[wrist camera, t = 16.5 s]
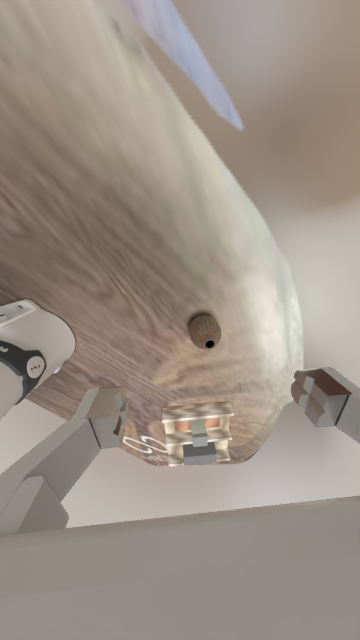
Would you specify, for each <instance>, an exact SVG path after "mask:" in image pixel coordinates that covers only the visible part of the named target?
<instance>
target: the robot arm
mask: <svg viewBox="0 0 360 640" xmlns="http://www.w3.org/2000/svg"><path fill="white" fill-rule="evenodd" d="M21 306H22V307H23V308H22V307H21ZM74 350H75V338H74V335H73V333H72V331H71V329H70V328H69V327H68V325H67V324H66V323H65V322H64V321H63V320H61V319H60V318H59V317H57V316H55V315H54V314H52V313H49V312H47V311H45V310H43V309H41V308H40V307H39V306H38V305H36V304H35V303H34V302H33V301H31V300H29V299H23V300H20V301H16V302H13V303H9V304H6V305H2V306H0V420H1V419H2V418H3V417H4V416H5V415H6V414H7V412H8V411H9V410H10V409H11V408H12V407H13V406H14V405H17V404H18V403H20V402H21V401H22V400H23V399H24V398H25V397H27V396H28V395H29V394H30V393H31V391H32V390H33V389H35V388H37V387H38V386H39V385H40V384H41V383H42V382H43V381H44V380H46V379H47V378H48V377H49V376H50V375H51V374H52V373H57V372H58V371H59V370H60V369H61V367H62V365H63V363H64V362H65V361H66V360H67V359H68V358H70V357H71V355H72V354H73V352H74ZM294 378H295V380H296V381H295V382H294V383H293V384H292V386H291V393H292V397H293V399H294V400H295V402H296V403H297V404H298V405H299V406H301V407H302V408H304V409H305V414H306V416H307V417H308V418H309V419H310V420H311V422H312V423H313V424H314V425H315V426H316V427H328V426H336V427H337V428H338V429H339V430H341V431H342V432H344V433H345V434H347V435H348V436H350V437H351V438H353V439H354V440H356V441H357V442H358V443H360V388H359V387H357V386H356V385H355V384H353V383H352V382H351V381H349V380H348V379H347V378H345V377H344V376H343V375H341V374H340V373H339V372H337V371H336V370H335V369H333V368H330V367H326V368H318V369H317V368H316V369H306V370H297V371H296V372H295V374H294ZM125 394H126V390H125V387H124V386H112V387H101V388H90V389H89V390H88V391H87V392H86V394H85V396H84V398H83V400H82V401H81V403H80V405H79V407H78V409H77V410H76V412H75V414H74V416H73V417H72V419H71V421H66V422H65V423H64V424H63V425H61V426H60V427H59V428H58V429H56V430H55V431H54V432H53V433H51V434H50V435H49V436H48V437H46V438H45V439H44V440H43V441H42V442H40V443H39V444H38V445H37V446H35V447H34V448H33V449H32V450H30V451H29V452H28V453H27V454H26V455H24V456H23V457H22V458H20V459H19V460H18V461H17V462H15V463H14V464H13V465H12V466H10V467H9V468H8V469H7V470H5V471H4V472H3V473H2V474H0V640H360V496H353V497H345V498H335V499H326V500H317V501H309V502H299V503H290V504H282V505H272V506H263V507H254V508H245V509H236V510H227V511H218V512H208V513H199V514H191V515H181V516H172V517H164V518H154V519H145V520H136V521H127V522H118V523H110V524H101V525H91V526H82V527H74V528H66V525H67V522H68V519H69V516H68V513H67V512H66V510H65V509H64V507H63V506H62V504H61V503H60V502H61V501H62V500H63V498H64V497H65V496H66V494H67V493H68V492H69V490H70V489H71V488H72V487H73V485H74V484H75V483H76V481H77V480H78V479H79V478H80V476H81V475H82V474H83V472H84V471H85V470H86V469H87V467H88V466H89V465H90V463H91V462H92V461H93V460H94V458H95V457H96V456H97V454H98V453H99V452H100V449H105V448H113V447H121V445H122V441H123V437H124V433H125V429H124V424H125V423H126V422H127V420H128V415H129V402H128V399H127V398H126V397H125Z"/></svg>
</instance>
